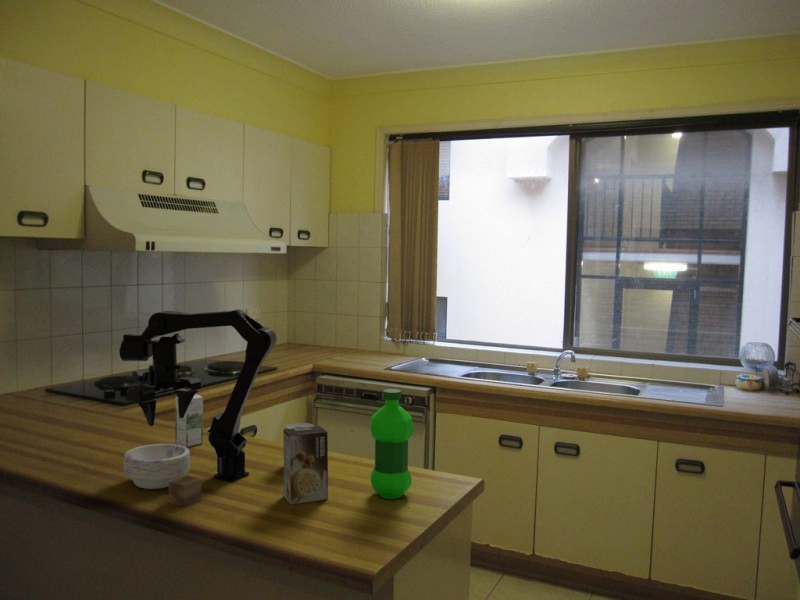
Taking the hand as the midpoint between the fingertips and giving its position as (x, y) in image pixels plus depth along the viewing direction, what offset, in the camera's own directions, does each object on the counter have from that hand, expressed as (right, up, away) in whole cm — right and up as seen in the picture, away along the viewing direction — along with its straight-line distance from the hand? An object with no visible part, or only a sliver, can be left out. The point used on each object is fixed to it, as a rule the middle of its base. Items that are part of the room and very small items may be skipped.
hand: (166, 422), depth 166 cm
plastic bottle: (+57, -16, -11) cm, 60 cm away
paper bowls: (-1, -14, -5) cm, 15 cm away
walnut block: (+10, -15, -17) cm, 25 cm away
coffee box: (+37, -15, -13) cm, 42 cm away
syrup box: (-3, -12, +27) cm, 30 cm away
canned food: (+32, -14, +9) cm, 36 cm away
